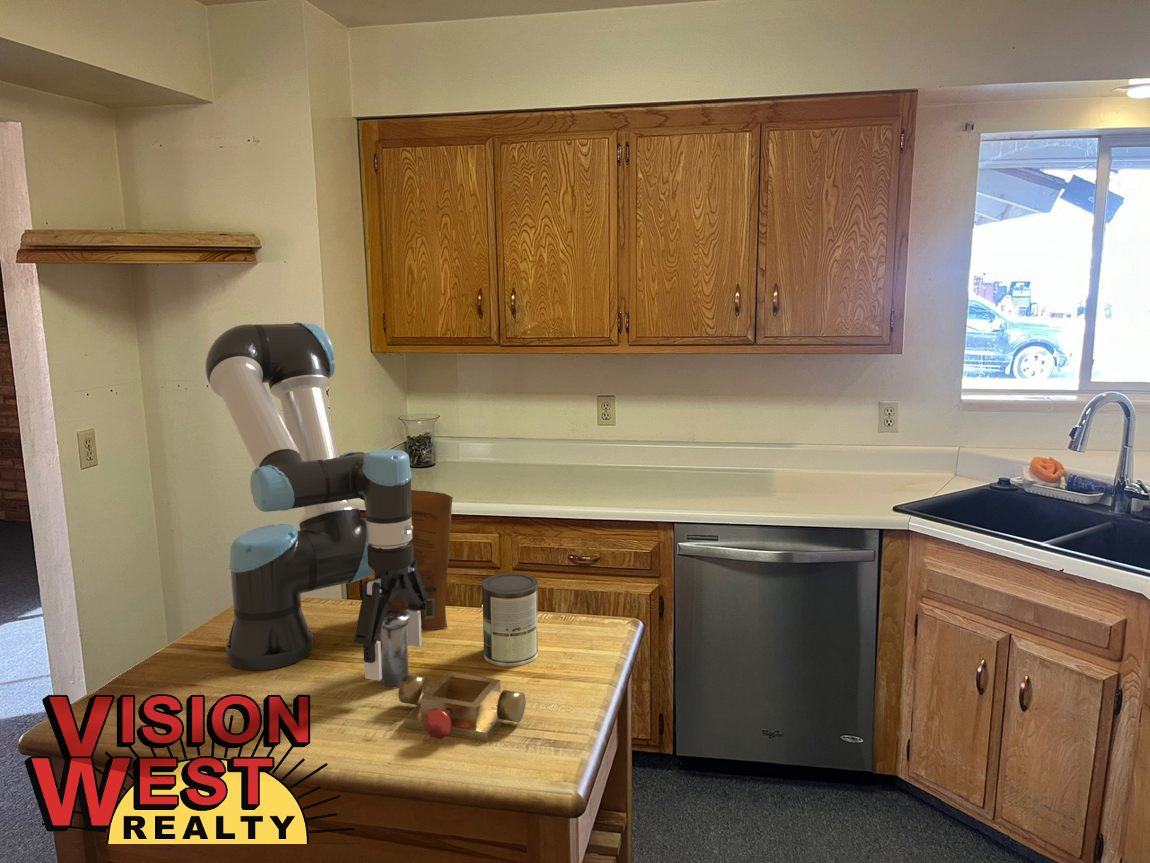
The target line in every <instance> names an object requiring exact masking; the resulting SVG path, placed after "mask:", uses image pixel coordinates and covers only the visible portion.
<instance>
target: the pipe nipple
mask: <svg viewBox="0 0 1150 863" xmlns="http://www.w3.org/2000/svg"><path fill="white" fill-rule="evenodd" d="M409 622H410V614H409V612H407V611H405V610H398V609H395V610H387V611H386V614H385V617H384V621H383V624H382V627H381V630H380V633H379V641H380V645H381V669H382V679H381V685H382V684H383V685H384V686H383V685H382V686H383V687H386V688H388V689H389V688H390V689H393V687H397V688H399V687H400V684H401V681H402V679H403V678H404V677H405V676H406V675H410V674H409V672H410V671H409V670H410V668H409V666H410V665H409V645H408V638H407V625H408V624H409Z"/></svg>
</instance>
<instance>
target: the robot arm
mask: <svg viewBox="0 0 1150 863" xmlns="http://www.w3.org/2000/svg"><path fill="white" fill-rule="evenodd" d="M335 359H336V354H335V350H334V346H333V344H332V341H331V338H330V336H329V335H328V333H327V332H326V331H325V329H324V328H323V327H321V326H319V325H318V324H316V323H302V322H294V323H270V324H269V323H267V324H258V323H257V324H252V323H250V324H246V323H245V324H239V325H237V326H234V327H231V328H230V329H227V330H225V331H224V332H223V333H222V334H221V335H219V336H218V337H217V338H216V339H215V341H214V342H213V343H212V345H211V346H210V348H209V350H208V353H207V357H206V359H205V373H206V378H207V381H208V384H209V385H210V388H211V389H212V391H213V392H214V393H215V394H216V395H217V396H219V397H221V398H222V399H223V402H224V403H225V405H226V408H227V409H228V410H227V411H229V414H230V416H231V418H232V421H233V422H234V425H235V426H236V429H237V432H238V434H239V435H240V437H241V439H242V441H243V443H244V446H245V447H246V449H247V452H248V454H249V456H250V458H251V460H252V462H253V464H254V467H255V468H254V469H253V470H252V472H251V474H250V480H249V482H250V485H249V487H250V492H251V495H252V501H253V503H254V505H255V507H256V509H258V510H259V511H261V512H264V513H265V512H266V513H269V512H279V511H281V512H282V511H289V510H293V509H299V508H303V509H304V513H303V514H304V515H302V517H301V519H300V520H299V521H298V526H299V529H300V530H298V529H297V528H296V527H295V526H294V525H293V524H288V523H279V524H270V525H264V526H260V527H257V528H253V529H251V530H248V531H246V532H244V533H242V534H240V535H239V536H237V538H235V539H234V540H233V541H232V543H231V545H230V551H229V552H230V553H229V566H228V567H229V570H230V576H231V578H230V580H231V589H232V602H233V615H234V616H233V622H232V626H231V630H230V633H229V636H228V637H229V638H228V640H227V643H226V648H225V649H226V650H225V651H226V660H227V663H228V665H230V666H232V667H234V668H237V669H238V670H239V669H240V670H245V671H264V670H265V671H266V670H272V669H278V668H283V667H286V666H290V665H293V664H295V663H298V662H300V661H301V660H303V659H304V658H306V657H307V656H309V655H310V654H311V653H312V652H313V649H314V638H313V633H312V631H311V630H310V629H309V626H308V623H307V620H306V616H304V612H303V610H302V600H301V595H302V594H304V593H308V592H313V591H317V590H321V589H325V588H330V587H335V586H340V585H343V584H346V585H349V584H352V583H353V582H357V581H361V580H364V579H367V578H368V577H369V576H370V575H371V574H373V572H374V577H373V580H371V581H369V580H365V581H364V582H363V583H362V596H361V598H362V599H361V602H360V608H359V613H358V618H357V621H356V622H357V623H356V628H355V633H354V637H353V642H354V644H359V645H362V649H363V653H362V654H363V662H364V663H363V664H364V679H368V680H373V681H374V680H375V681H382V669H381V645H380V640H378V639H379V637H380V630H381V627H382V624H383V621H384V617H385V614H386V611H387V608H388V606H389V605H390V604H391V603H392V601H393V598H395V597H396V595H397V594H399V595H400V597H401V598H402V600H403V601H404V602H405V604H406V605H407V607H408V608H410V609H407V610H405V611H407V612H409V614H410V622H409V624H408V625H407V638H408V646H413V647H419V648H420V647H421V646H422V644H423V643H422V628H421V611H420V609H421V610H425V609H426V606H427V605H426V603H423V602H426V601H427V595H426V592H425V589H424V586H423V583H422V580H421V577H420V574H419V572H418V566H417V559H413V543H412V542H411V541H410V540H411V539H412V530H413V526H412V518H411V516H412V513H411V512H412V509H411V490H412V470H411V467H410V466H411V465H410V464H411V463H410V456H409V454H408V453H407V452H405V450H401V449H392V448H390V449H388V448H386V449H385V448H384V449H376V450H372V451H368V452H366V453H365V452H363V451H354V450H353V451H346V452H344V453H341V454H340V455H339V450H338V447H337V443H336V437H335V434H334V428H333V425H332V422H331V421H332V420H331V415H330V412H329V411H330V410H329V407H328V403H327V398H326V395H325V390H327V388H328V386H329V385H330V383H331V382H330V378H332V377H333V375H334V374H335V370H336V361H335ZM264 383H265V384H267V383H268V386H269V391H270V394H271V395H272V396H273V397H275V398H276V399H277V398H278V399H279V400H280V404H281V409H282V413H283V417H284V420H283V419H282V417H281V415H280V413H279V410H278V409H277V407H276V405H275V403H274V402H273V400H272V397H271V396H270V394H269V392H268V389H267V388H266V386H265V384H264ZM284 422H285V423H284ZM355 499H361V500H362V501H363V502H364V501H365V504H364V507H365V518H362V515H361V511H360V508H359V507H357V506H356V505H353V504H352V503H351V502H350V500H355ZM417 594H420V595H417ZM380 596H381V597H380Z"/></svg>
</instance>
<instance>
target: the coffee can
mask: <svg viewBox="0 0 1150 863" xmlns="http://www.w3.org/2000/svg"><path fill="white" fill-rule="evenodd" d="M538 586H539V582H538V579H537V578H535V577H534V576H532V575H528V574H524V573H516V572H515V573H514V572H510V573H509V572H508V573H507V572H506V573H501V574H500V573H499V574H494V575H492V576H488V577H486V578H485V579H484V580H482V582H481V590H482V624H483V625H482V629H483V630H482V632H483V655H482V656H483V658H484V659H485V661H486V662H487V663H490V664H491V665H493V666H494V665H495V666H500V667H517V666H518V667H519V666H523V665H527V664H529V663H530V662H533V661H535V660H536V658H538V655H539V649H538V648H539V647H538V641H539V640H538V639H539V638H538V637H539V634H538V633H539V632H538V626H539V625H538V622H539V621H538V616H539V615H538Z"/></svg>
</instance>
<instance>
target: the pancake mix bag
mask: <svg viewBox="0 0 1150 863" xmlns="http://www.w3.org/2000/svg"><path fill="white" fill-rule="evenodd" d="M453 498H454V497H453V496H451V495H449V494H448V493H444V492H438V491H430V490H428V491H427V490H418V489H417V490H416V489H411V509H412V512H411V513H412V516H411V518H412V526H413V530H412V539H411V540H410V541H411V542H412V543H413V559H417V566H418V572H419V574H420V577H421V580H422V583H423V586H424V589H425V592H426V595H427V601H426V602H423V603H426V605H427V606H426V609H425V610H421V609H420V611H421V629H424V630H440V629H441V630H442V629H444V628H448V622H447V612H446V609H447V608H446V592H447V583H448V582H447V580H448V578H447V577H448V566H449V561H450V559H449V558H450V544H451V525H452V506H453ZM363 503H364V505H365V501H364V500H363ZM417 595H420V594H417ZM380 597H381V596H380ZM395 609H398V610H407V609H410V608H408V607H407V605H406V604H405V602H404V601H403V600H402V598H401V597H400V595H399V594H397V595H396V597H395V598H393V601H392V603H391V604H390V605H389V606H388V608H387V610H395Z"/></svg>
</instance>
